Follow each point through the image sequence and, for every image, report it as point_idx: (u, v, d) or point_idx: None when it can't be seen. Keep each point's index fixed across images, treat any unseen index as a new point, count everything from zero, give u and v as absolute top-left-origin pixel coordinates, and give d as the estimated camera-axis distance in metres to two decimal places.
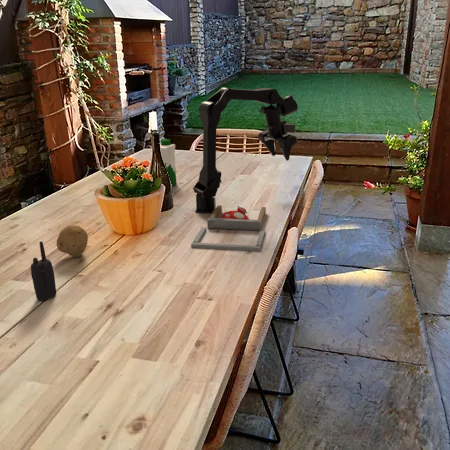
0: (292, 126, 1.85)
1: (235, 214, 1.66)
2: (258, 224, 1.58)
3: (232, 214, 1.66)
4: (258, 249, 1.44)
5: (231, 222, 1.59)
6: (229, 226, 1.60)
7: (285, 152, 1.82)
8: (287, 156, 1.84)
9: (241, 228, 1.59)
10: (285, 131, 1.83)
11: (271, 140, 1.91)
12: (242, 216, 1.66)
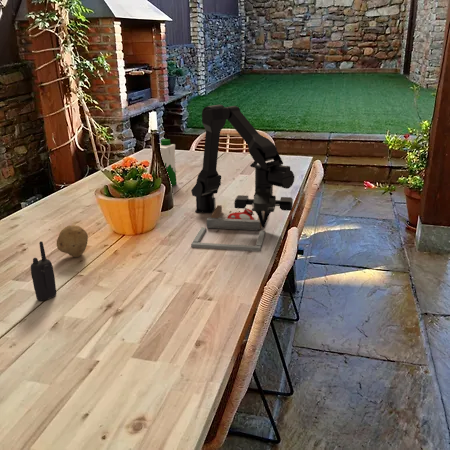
0: (254, 200, 1.49)
1: (241, 215, 1.64)
2: (257, 224, 1.58)
3: (238, 215, 1.64)
4: (258, 249, 1.44)
5: (230, 222, 1.59)
6: (228, 226, 1.60)
7: None
8: None
9: (240, 228, 1.59)
10: None
11: None
12: (248, 218, 1.64)
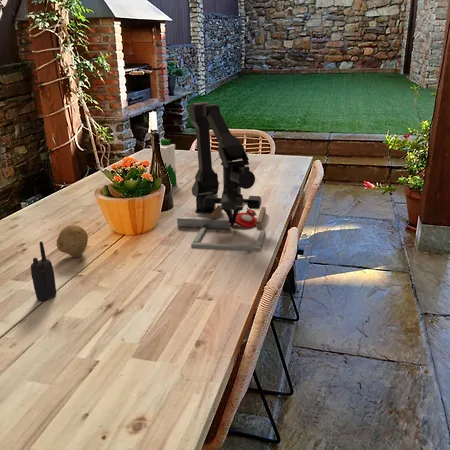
0: None
1: (243, 216, 1.64)
2: (226, 223, 1.60)
3: (240, 216, 1.64)
4: (258, 249, 1.44)
5: (200, 221, 1.61)
6: (198, 224, 1.62)
7: None
8: None
9: (210, 226, 1.61)
10: None
11: None
12: (250, 218, 1.63)
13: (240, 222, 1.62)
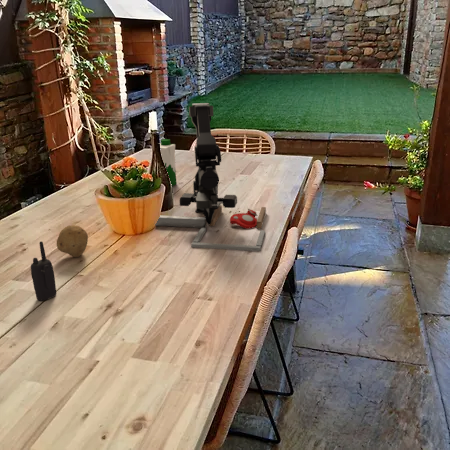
0: None
1: (244, 216, 1.63)
2: (203, 221, 1.61)
3: (241, 216, 1.63)
4: (258, 249, 1.44)
5: (177, 219, 1.63)
6: (175, 223, 1.63)
7: None
8: None
9: (187, 225, 1.63)
10: None
11: None
12: (251, 219, 1.63)
13: (241, 223, 1.61)
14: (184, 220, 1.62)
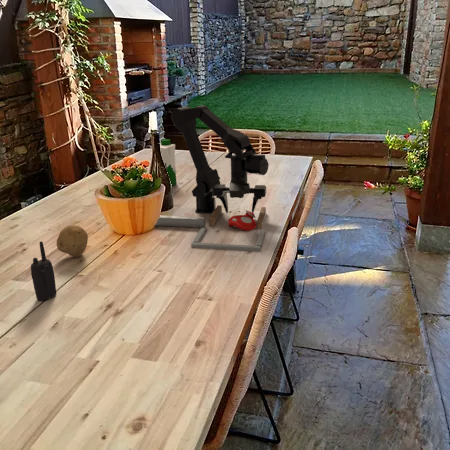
0: None
1: (242, 218, 1.61)
2: (202, 221, 1.61)
3: (239, 218, 1.61)
4: (258, 249, 1.44)
5: (176, 219, 1.63)
6: (174, 223, 1.63)
7: None
8: None
9: (186, 225, 1.63)
10: None
11: (253, 197, 1.67)
12: (249, 221, 1.61)
13: (240, 225, 1.59)
14: (183, 220, 1.62)
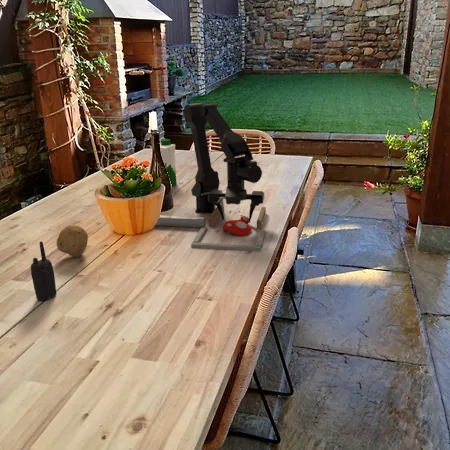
0: None
1: (237, 223, 1.57)
2: (202, 221, 1.61)
3: (234, 223, 1.57)
4: (258, 249, 1.44)
5: (176, 219, 1.63)
6: (174, 223, 1.63)
7: None
8: None
9: (186, 225, 1.63)
10: None
11: None
12: (244, 226, 1.57)
13: (234, 230, 1.55)
14: (183, 220, 1.62)
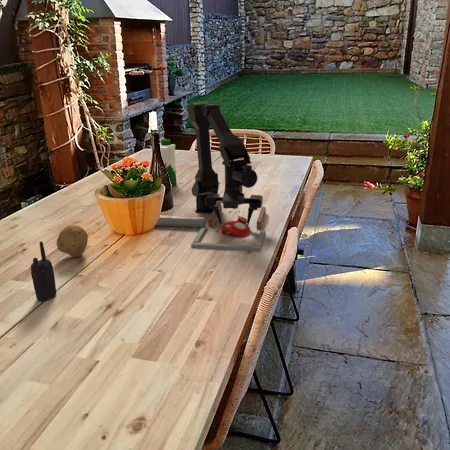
0: None
1: (236, 224, 1.56)
2: (202, 221, 1.61)
3: (233, 224, 1.56)
4: (258, 249, 1.44)
5: (176, 219, 1.63)
6: (174, 223, 1.63)
7: None
8: None
9: (186, 225, 1.63)
10: None
11: (249, 207, 1.57)
12: (243, 226, 1.57)
13: (234, 231, 1.54)
14: (183, 220, 1.62)
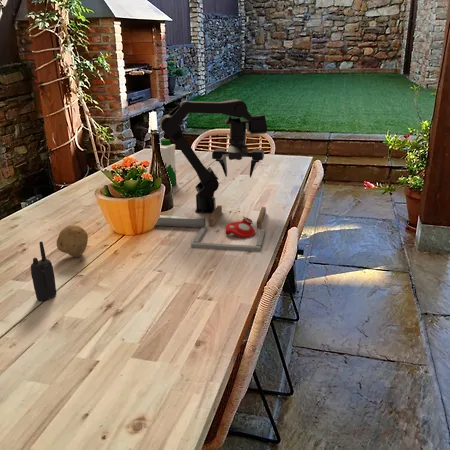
0: None
1: (240, 225, 1.55)
2: (202, 221, 1.61)
3: (237, 225, 1.55)
4: (258, 249, 1.44)
5: (176, 219, 1.63)
6: (174, 223, 1.63)
7: None
8: None
9: (186, 225, 1.63)
10: None
11: None
12: (247, 228, 1.55)
13: (237, 232, 1.53)
14: (183, 220, 1.62)
